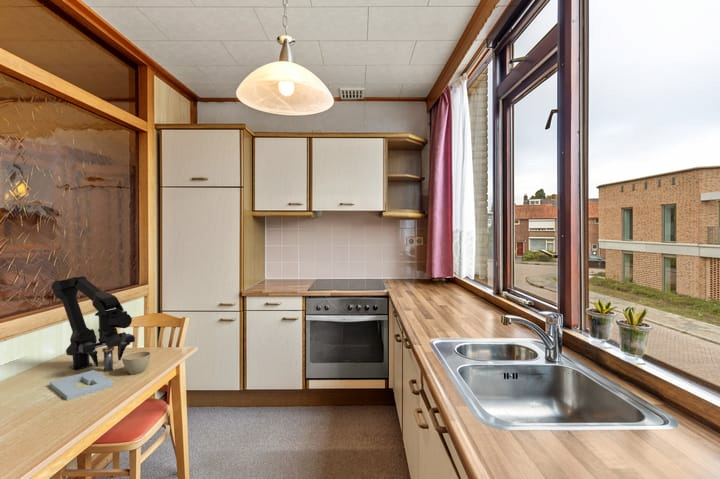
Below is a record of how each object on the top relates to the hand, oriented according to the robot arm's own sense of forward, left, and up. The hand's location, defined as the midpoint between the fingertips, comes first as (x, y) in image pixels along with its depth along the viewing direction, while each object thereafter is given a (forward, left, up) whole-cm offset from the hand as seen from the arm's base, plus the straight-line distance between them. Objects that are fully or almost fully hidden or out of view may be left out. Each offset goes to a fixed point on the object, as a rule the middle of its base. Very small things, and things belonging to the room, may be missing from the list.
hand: (108, 363), depth 150 cm
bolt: (0, 0, -3) cm, 3 cm away
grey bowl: (+12, +6, -3) cm, 14 cm away
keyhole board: (+9, -12, -3) cm, 15 cm away
